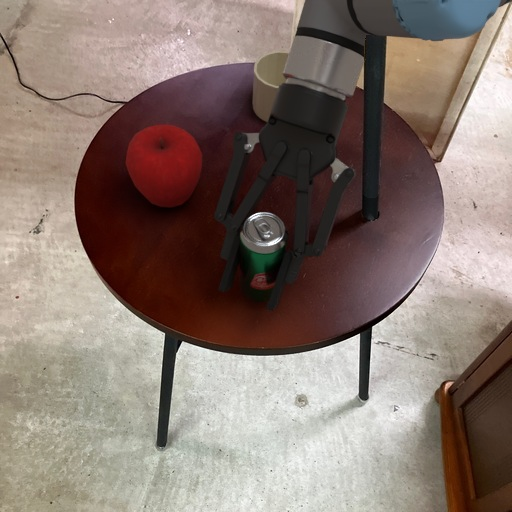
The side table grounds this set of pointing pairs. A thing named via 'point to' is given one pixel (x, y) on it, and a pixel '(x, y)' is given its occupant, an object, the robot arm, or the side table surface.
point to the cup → (267, 81)
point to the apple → (164, 164)
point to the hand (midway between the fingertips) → (248, 297)
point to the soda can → (261, 255)
